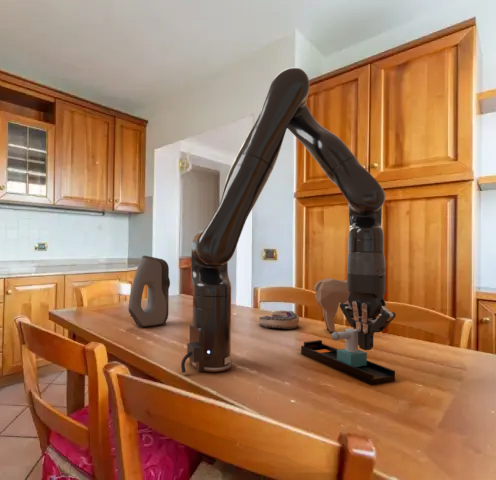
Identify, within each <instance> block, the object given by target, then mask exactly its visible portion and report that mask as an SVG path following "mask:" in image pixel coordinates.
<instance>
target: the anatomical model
mask: <svg viewBox="0 0 496 480" xmlns="http://www.w3.org/2000/svg"><path fill="white" fill-rule="evenodd" d="M258 319H259V320H258V325H259V326H262V327H264V328H269V329H271V328H273V329H280V330H292V329H296V328H298V327H299V322H300V318H299V315H298V314H296V313H295V311H294V310H275V311H273V312H272V313H271V316H270V315H263V316H259V318H258Z"/></svg>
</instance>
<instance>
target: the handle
mask: <svg viewBox="0 0 496 480" xmlns="http://www.w3.org/2000/svg"><path fill="white" fill-rule="evenodd" d="M330 334H331V333H330ZM330 337H331V339H332V340H333V341H338V340H345V348H341V349H340V348H339V349H338V350H337V360H339V361H342V362H344V363H346V364H349V365H351V366H354V367H360V366H366V365H367V360H368V352H366V351H365V350H362V349H361V350H360V349H359V345H358V331H357V330H356V329H353V328H345V330H344V331H337V332H336V331H335V332H333V333H332V334H331V335H330Z"/></svg>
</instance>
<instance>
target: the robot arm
mask: <svg viewBox="0 0 496 480" xmlns="http://www.w3.org/2000/svg"><path fill="white" fill-rule="evenodd" d="M310 85H311V84H310V79H309V77H308V74H307V73H306V71H304V70H303V69H302V68H300V67H288V68H286V69H283V70H281V71H280V72H279V73H278V74H277V75H275V77H274V78H273V79H272V81H271V83H270V85H269V88H268V91H267V94H266V97H265V100H264V102H263V105H262V107H261V110H260V113H259V115H258V117H257V119H256V121H255V122H254V124H253V126H252V127H251V129H250V130H249V133H248V135H247V136H246V138H245V140H244V141H243V144H242V145H241V148H240V149H239V151H238V153H237V154H236V157H235V158H234V161H233V163H232V165H231V166H230V169H229V172H228V174H227V177H226V180H225V183H224V187H223V191H222V195H221V199H220V202H219V204H218V207H217V208H216V209H215V212H214V214H213V215H212V216H211V219H210V220H209V222H208V223H207V225H206V227H205V228H204V229H201V230H199V231H198V232H197V233H196V234H195V235H194V237H193V239H192V242H191V247H190V248H191V249H190V250H191V251H190V252H191V253H190V254H191V255H190V258H191V259H190V261H191V262H190V263H191V264H190V266H191V283H192V323H190V324H189V342H187V343H186V346H187V349H186V350H187V351H186V354H185V355H184V356H183V357H182V360H181V362H180V367H181V373H186V366H185V365H186V361H187V360H188V359H189V360H188V361H189V365H191V366H192V367H193V368H194V369H195V370H197V372H199V373H200V372H206V373H207V372H208V373H220V372H225V371H228V370H230V369H231V368H232V283H231V280H230V277H229V269H228V268H229V267H228V265H229V263H228V262H229V261H230V260H231V259H232V257H233V256H234V254H235V252H236V249H237V247H238V243H239V241H240V238H241V235H242V232H243V230H244V227H245V225H246V221H247V219H248V218H249V215H250V214H251V212H252V210H253V209H254V206H255V205H256V203H257V201H258V199H259V197H260V196H261V193H262V192H263V189H264V188H265V187H266V184H267V183H268V181H269V178H270V176H271V174H272V172H273V170H274V167H275V165H276V163H277V160H278V158H279V155H280V151H281V149H282V145H283V141H284V139H285V136H286V132H287V130H288V131H289V132H291V134H293V136H294V137H296V139H297V140H298V141H299V142H300V143H301V144H302V145H303V146H304V147H305V148H306V150H307V151H308V152H309V154H310V155H311V156H312V158H313V159H314V160H315V161H316V163H317V164H318V166H319V167H320V168H321V170H322V172H323V173H324V174H325V175H326V177H327V178H328V179H329V180H330V181H331V182H332V183H333V184H334V185H336V187H337V188H338V190H339V191H340V192H341V194H342V195H343V197H344V198H345V200H346V201H347V204H348V222H349V223H348V224H349V231H348V236H347V237H348V238H347V239H348V242H347V247H348V248H347V250H348V252H347V259H346V280H347V291H348V292H349V296H348V301H346V302H345V303H339V308H340V311H341V312H342V314H343V315H344V317H345V319H346V321H347V323H348V325H349V326H350V327H351V328H353V327H354V328H356V330H357V331H358V349H359V350H360V349H361V350H362V351H370V350H372V349H373V348H374V334H375V333H382V332H383V331H384V330H385V329H386V328H387V327H388V326H389V325H390V324H391V323H392V322H393V320H394V319H395V318H396V315H397V313H395V311H390V310H389V309H388V308H387V307H386V305H387V304H386V300H385V298H384V296H385V294H386V257H385V234H384V229H383V225H382V224H383V223H382V222H383V206H384V204H385V201H386V193H385V190H384V188H383V187H382V185H381V184H380V183H379V181H377V179H376V178H375V177H374V176H373V175H372V174H371V173H370V172H369V171H368V170H367V169H366V168H365V167H364V166H362V164H361V163H360V161H359V159H358V158H357V156H355V154H354V153H353V151H351V149H350V148H349V147H348V145H347V144H346V143H345V142H344V141H343V139H342V138H340V137H339V136H338V135H337V134H335V133H333V132H332V131H330V130H329V129H327V128H325V127H324V126H323V125H321V123H319V122H318V121H317V120H316V119H315V117H314V116H313V114H312V113H311V110H310V109H309V107H308V105H307V101H308V98H309V94H310V89H311V86H310ZM360 316H362V317H360Z"/></svg>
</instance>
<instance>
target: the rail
mask: <svg viewBox="0 0 496 480" xmlns="http://www.w3.org/2000/svg"><path fill="white" fill-rule="evenodd" d="M337 350H339V349H338V348H336V347H333V346H330V345H329V344H328V345H327V344H325V343H323V340H321V339H318V340H308V341H303V345H301V346H300V354H301V355H303V356H305V357H307V358H309V359H312V360H313V361H316V362H317V363H320V364H322V365H325V366H326V367H329V368H332V369H334V370H336V371H339V372H340V373H343V374H345V375H347V376H349V377H352V378H354V379H356V380H359V381H360V382H363V383H365V384H367V385H369V386H376V385H381V384H386V383H391V382H396V370H395V369H391V368H389V367H386V366H384V365H381V364H378V363H375V362H373V361H370V360H368V359H367V365H366V366H360V367H354V366H351V365H349V364H346V363H344V362H342V361H339V360H337Z"/></svg>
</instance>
